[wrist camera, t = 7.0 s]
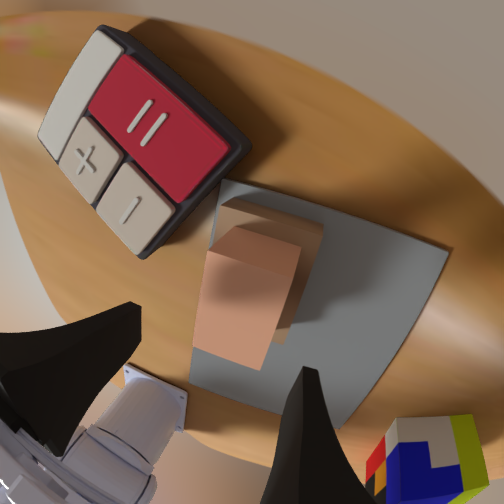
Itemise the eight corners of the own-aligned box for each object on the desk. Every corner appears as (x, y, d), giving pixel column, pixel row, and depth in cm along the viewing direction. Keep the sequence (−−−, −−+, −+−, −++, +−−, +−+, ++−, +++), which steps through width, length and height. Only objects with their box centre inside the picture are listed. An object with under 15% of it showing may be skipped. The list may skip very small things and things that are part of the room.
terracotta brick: (273, 329, 19) (259, 370, 15) (216, 309, 19) (191, 345, 16) (301, 247, 16) (293, 278, 13) (234, 226, 17) (207, 250, 13)
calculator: (136, 267, 19) (28, 137, 17) (164, 244, 23) (63, 132, 21) (242, 148, 15) (93, 20, 13) (258, 145, 19) (127, 31, 16)
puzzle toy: (395, 416, 23) (400, 501, 14) (471, 413, 21) (489, 484, 12) (366, 461, 27) (361, 528, 18) (434, 458, 24) (439, 519, 15)
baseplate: (339, 425, 25) (339, 429, 24) (190, 379, 27) (188, 382, 27) (446, 250, 17) (449, 252, 16) (224, 177, 19) (222, 178, 18)
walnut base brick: (288, 324, 21) (283, 345, 19) (212, 298, 22) (200, 316, 20) (323, 223, 18) (322, 235, 16) (233, 197, 19) (219, 205, 16)
